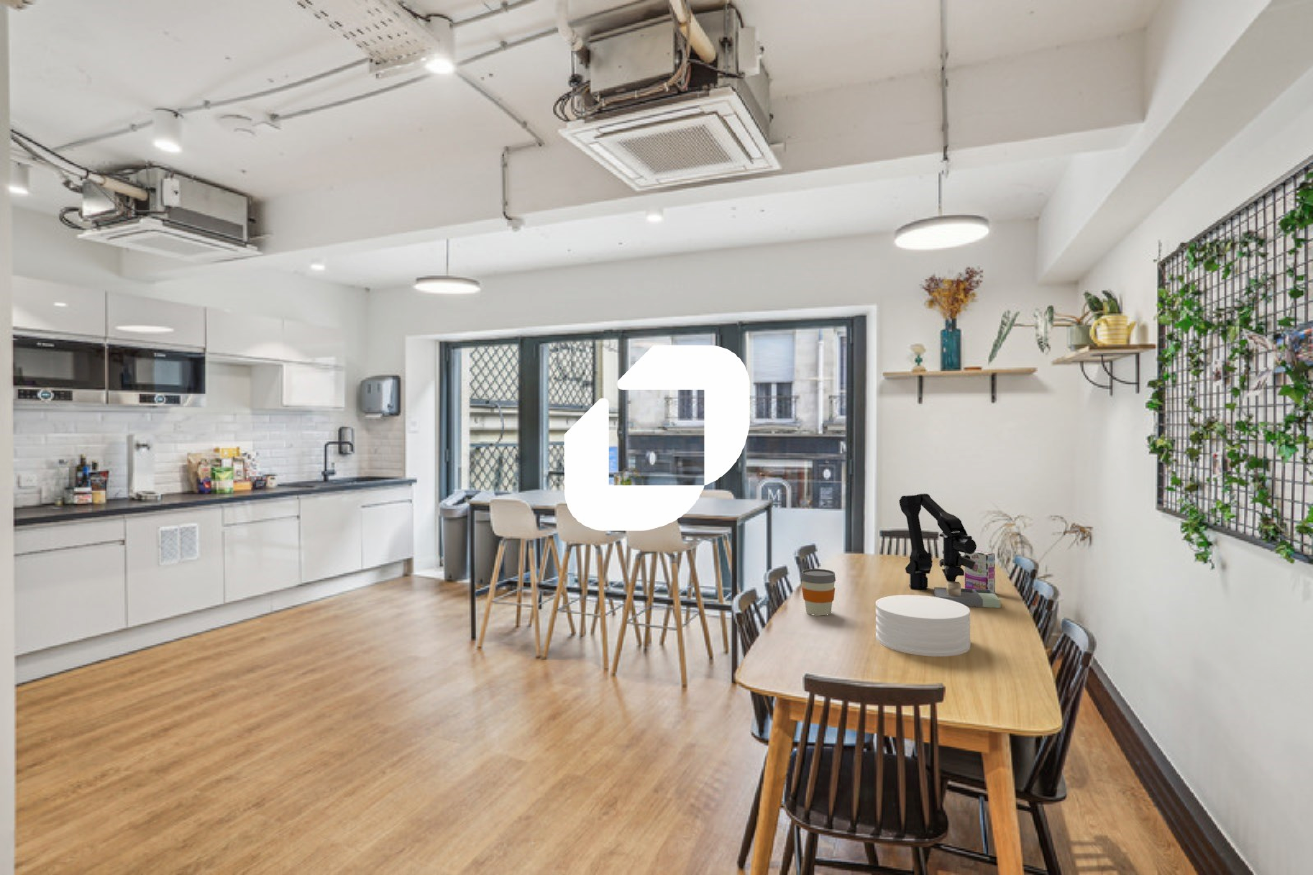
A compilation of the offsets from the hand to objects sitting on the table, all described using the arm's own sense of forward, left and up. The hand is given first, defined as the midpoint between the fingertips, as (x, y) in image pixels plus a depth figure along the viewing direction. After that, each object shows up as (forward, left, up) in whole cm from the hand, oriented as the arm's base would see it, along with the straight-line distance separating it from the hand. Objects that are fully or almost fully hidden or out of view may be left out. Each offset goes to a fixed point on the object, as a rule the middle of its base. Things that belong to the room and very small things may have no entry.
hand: (951, 588), depth 260 cm
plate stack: (-18, -57, -5) cm, 59 cm away
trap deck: (+5, -2, -4) cm, 7 cm away
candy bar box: (+13, +16, -4) cm, 22 cm away
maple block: (0, -4, -1) cm, 4 cm away
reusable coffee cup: (-51, -31, -4) cm, 59 cm away
